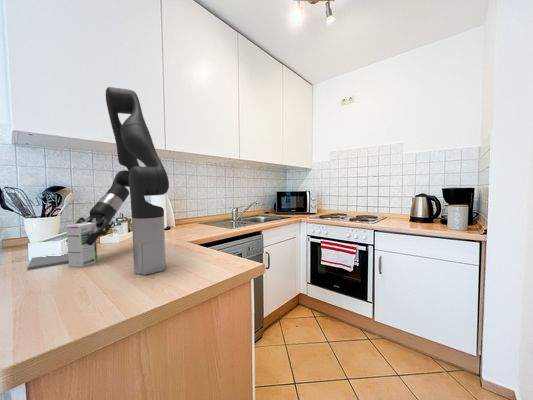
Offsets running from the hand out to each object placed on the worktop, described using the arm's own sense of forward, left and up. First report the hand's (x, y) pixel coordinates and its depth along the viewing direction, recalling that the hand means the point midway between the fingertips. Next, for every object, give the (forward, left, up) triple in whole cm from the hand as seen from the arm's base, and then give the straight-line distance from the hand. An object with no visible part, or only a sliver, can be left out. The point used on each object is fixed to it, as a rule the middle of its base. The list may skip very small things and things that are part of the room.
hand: (78, 243), depth 78 cm
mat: (+13, +7, -8) cm, 16 cm away
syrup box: (+1, -1, -8) cm, 8 cm away
